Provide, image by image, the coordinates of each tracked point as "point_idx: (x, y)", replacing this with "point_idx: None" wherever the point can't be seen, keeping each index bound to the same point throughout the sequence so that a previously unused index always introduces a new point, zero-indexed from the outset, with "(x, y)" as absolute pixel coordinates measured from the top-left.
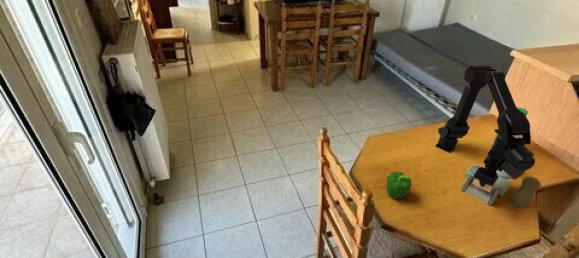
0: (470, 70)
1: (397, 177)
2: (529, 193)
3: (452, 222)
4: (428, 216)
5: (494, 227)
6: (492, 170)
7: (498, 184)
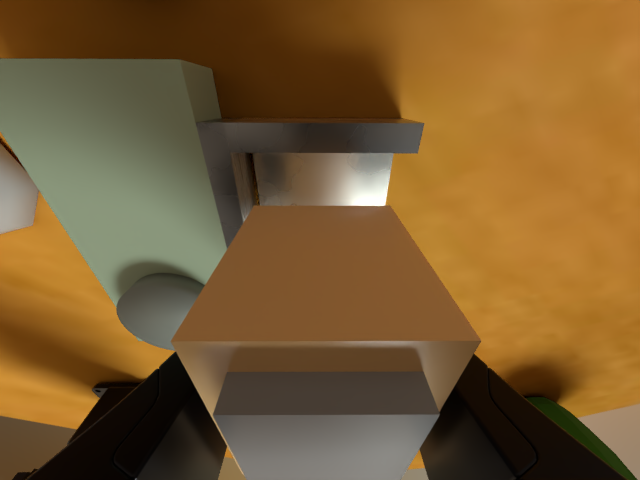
0: None
1: None
2: None
3: None
4: (626, 323)
5: None
6: (179, 455)
7: (151, 160)
